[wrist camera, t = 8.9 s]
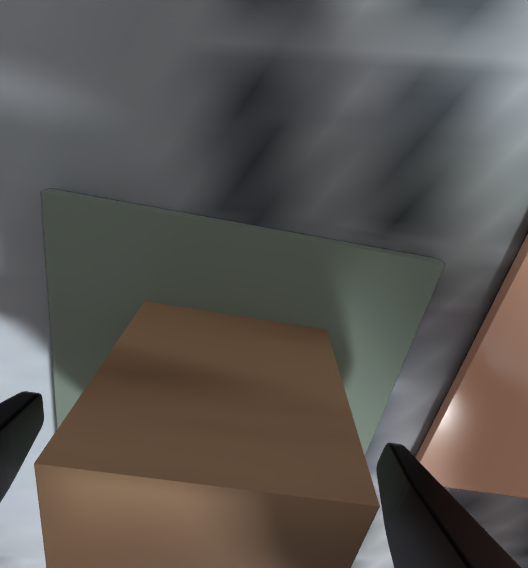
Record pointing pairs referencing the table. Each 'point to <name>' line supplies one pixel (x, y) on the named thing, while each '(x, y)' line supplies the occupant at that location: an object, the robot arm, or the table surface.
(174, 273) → the green mat
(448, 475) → the tile
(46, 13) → the table surface
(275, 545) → the walnut block
